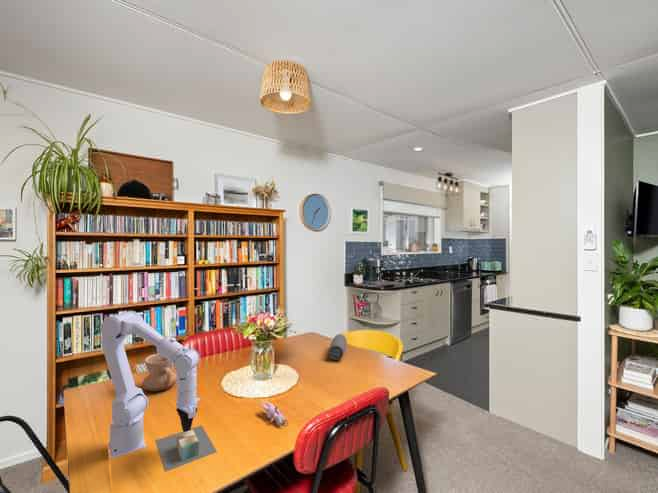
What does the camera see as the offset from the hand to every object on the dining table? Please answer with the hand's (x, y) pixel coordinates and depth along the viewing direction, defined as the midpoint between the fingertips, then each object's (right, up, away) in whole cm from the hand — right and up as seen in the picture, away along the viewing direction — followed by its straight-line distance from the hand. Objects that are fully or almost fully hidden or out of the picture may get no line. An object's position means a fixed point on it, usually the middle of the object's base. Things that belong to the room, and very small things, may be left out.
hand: (186, 430), depth 102 cm
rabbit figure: (+25, -7, +19) cm, 32 cm away
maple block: (-1, -4, +2) cm, 5 cm away
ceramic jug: (-32, -6, +43) cm, 54 cm away
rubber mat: (-1, -6, +1) cm, 7 cm away
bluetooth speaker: (+52, -6, +88) cm, 103 cm away
